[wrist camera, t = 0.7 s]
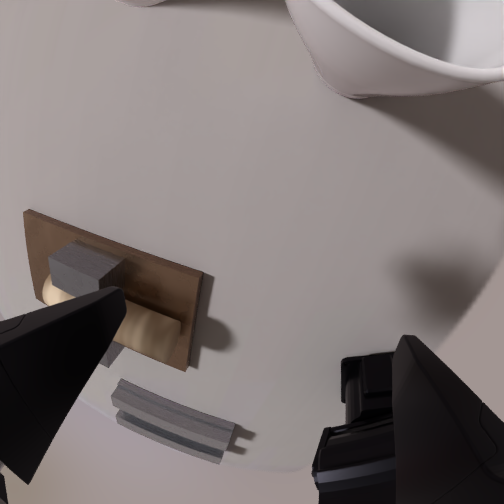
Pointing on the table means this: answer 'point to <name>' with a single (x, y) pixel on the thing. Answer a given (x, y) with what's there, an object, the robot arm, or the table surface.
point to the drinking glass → (402, 44)
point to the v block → (171, 423)
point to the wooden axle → (134, 326)
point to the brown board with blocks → (112, 276)
